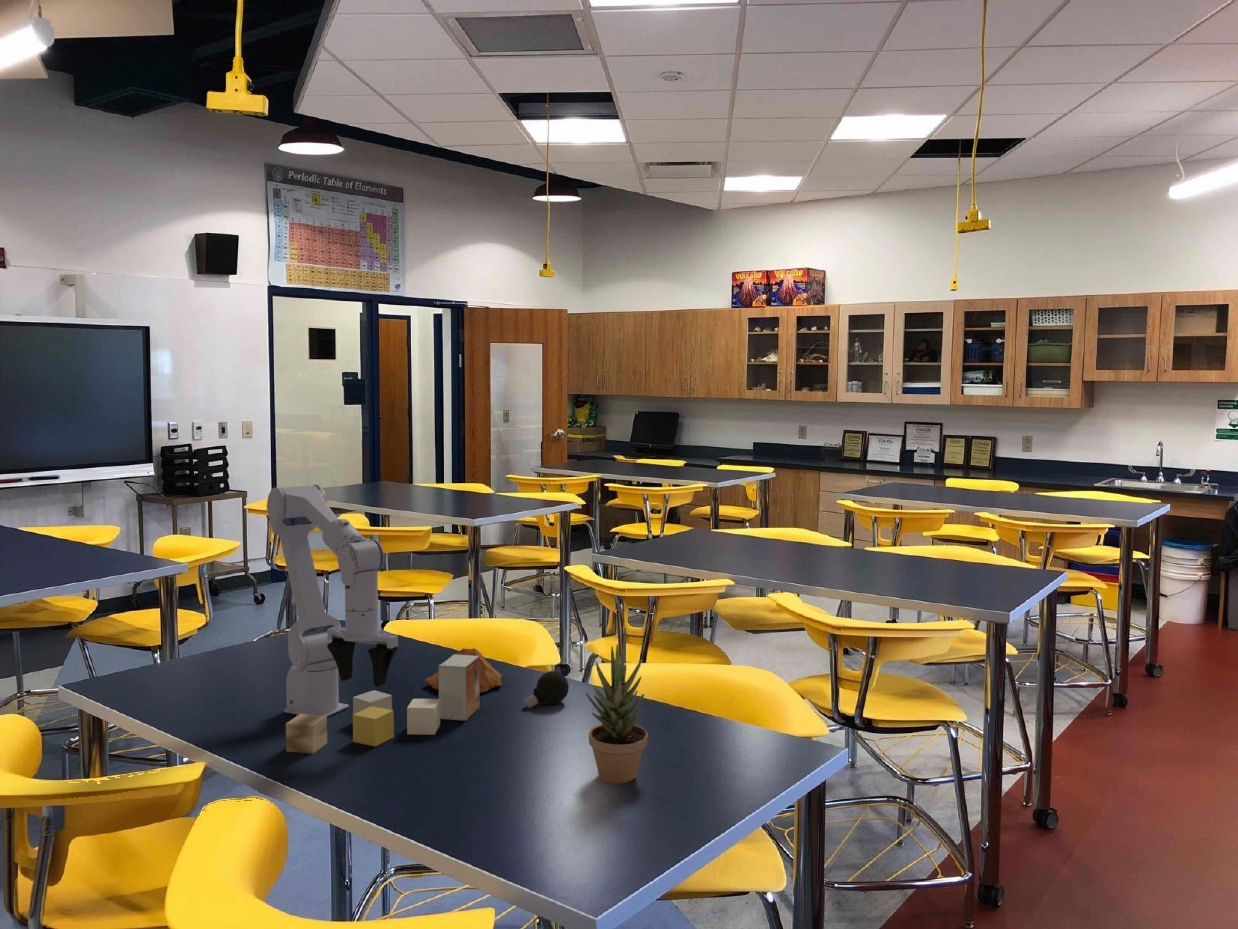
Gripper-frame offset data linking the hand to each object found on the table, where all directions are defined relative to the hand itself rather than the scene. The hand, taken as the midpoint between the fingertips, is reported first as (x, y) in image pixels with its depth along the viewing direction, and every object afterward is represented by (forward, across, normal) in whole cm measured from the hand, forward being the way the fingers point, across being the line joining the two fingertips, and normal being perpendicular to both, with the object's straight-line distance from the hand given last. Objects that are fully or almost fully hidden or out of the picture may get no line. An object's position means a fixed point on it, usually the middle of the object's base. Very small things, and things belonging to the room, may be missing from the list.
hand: (363, 682), depth 172 cm
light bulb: (+10, +22, +29) cm, 38 cm away
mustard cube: (+10, +3, -1) cm, 10 cm away
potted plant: (+10, +49, +4) cm, 50 cm away
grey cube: (+10, -3, +6) cm, 11 cm away
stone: (+10, +1, +31) cm, 33 cm away
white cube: (+10, +8, +7) cm, 14 cm away
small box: (+10, +9, +17) cm, 21 cm away
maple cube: (+10, -5, -9) cm, 14 cm away
